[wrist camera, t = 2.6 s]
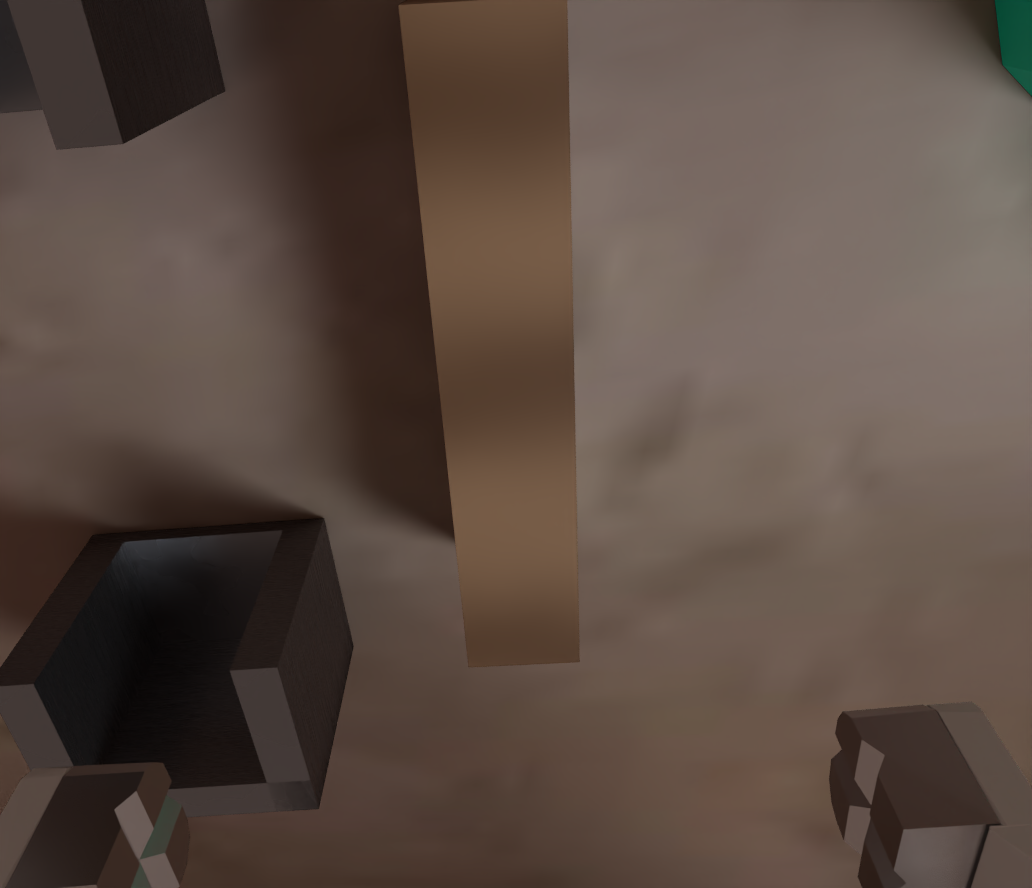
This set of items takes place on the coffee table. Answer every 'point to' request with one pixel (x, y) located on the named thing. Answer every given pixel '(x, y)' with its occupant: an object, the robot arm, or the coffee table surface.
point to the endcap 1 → (106, 65)
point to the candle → (1016, 39)
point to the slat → (501, 309)
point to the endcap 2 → (191, 664)
